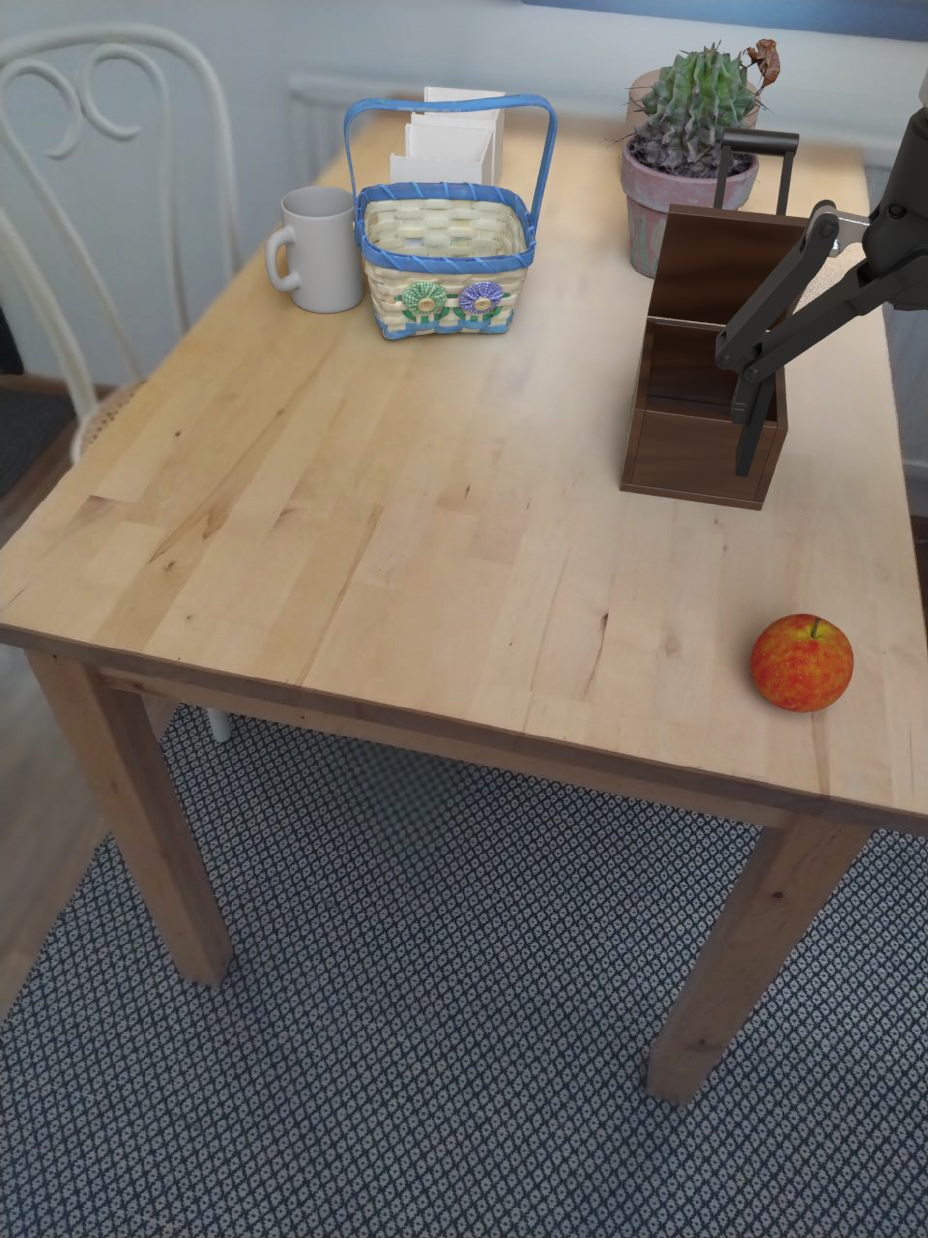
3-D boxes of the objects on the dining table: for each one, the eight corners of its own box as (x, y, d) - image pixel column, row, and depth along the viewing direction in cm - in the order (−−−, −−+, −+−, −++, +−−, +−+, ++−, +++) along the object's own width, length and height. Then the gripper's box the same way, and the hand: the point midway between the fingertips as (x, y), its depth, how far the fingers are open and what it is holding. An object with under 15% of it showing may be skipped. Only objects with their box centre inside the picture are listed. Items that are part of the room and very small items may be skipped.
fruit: (840, 738, 66) (879, 666, 60) (742, 724, 67) (771, 652, 61) (830, 665, 71) (865, 592, 65) (738, 653, 72) (764, 579, 66)
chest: (761, 511, 83) (788, 429, 77) (619, 490, 85) (634, 408, 78) (758, 412, 94) (782, 332, 87) (632, 395, 95) (646, 316, 89)
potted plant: (565, 239, 120) (588, 15, 101) (704, 225, 123) (750, 7, 105) (614, 307, 108) (650, 69, 89) (766, 290, 111) (831, 57, 93)
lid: (836, 230, 71) (850, 118, 72) (668, 212, 72) (685, 103, 74) (783, 332, 87) (795, 239, 88) (647, 316, 89) (661, 225, 90)
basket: (363, 367, 98) (347, 130, 81) (352, 291, 109) (335, 69, 92) (554, 354, 101) (577, 122, 83) (524, 281, 112) (539, 63, 94)
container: (607, 189, 131) (619, 98, 122) (630, 143, 142) (642, 57, 134) (736, 207, 127) (758, 115, 119) (748, 159, 139) (768, 72, 130)
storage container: (479, 254, 116) (482, 163, 108) (393, 247, 117) (389, 156, 109) (501, 175, 133) (505, 91, 125) (426, 169, 134) (425, 86, 126)
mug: (332, 271, 112) (324, 178, 104) (379, 296, 108) (374, 201, 100) (252, 305, 106) (236, 209, 98) (298, 333, 102) (286, 235, 94)
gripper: (1257, 116, 44) (1044, 471, 60) (728, 70, 47) (657, 418, 63) (1322, 178, 39) (1072, 548, 55) (725, 122, 42) (649, 486, 58)
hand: (849, 479), depth 59 cm, fingers open, 13 cm apart
